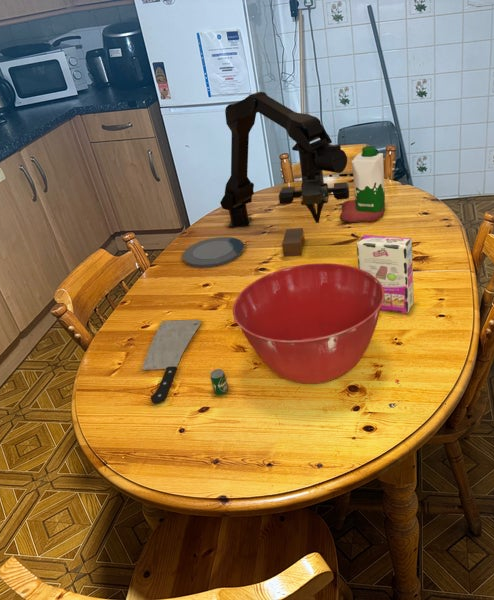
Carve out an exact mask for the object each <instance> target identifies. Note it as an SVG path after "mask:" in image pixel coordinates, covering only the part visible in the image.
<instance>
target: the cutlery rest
mask: <svg viewBox="0 0 494 600" xmlns="http://www.w3.org/2000/svg"><path fill="white" fill-rule="evenodd" d="M304 245H305V231H304V228H303V227H296V228H294V227H293V228H285V231H284V236H283V239H282V242H281V247H282V254H283V257H284V258H287V257H302V255H303V251H304V247H305V246H304Z"/></svg>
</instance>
